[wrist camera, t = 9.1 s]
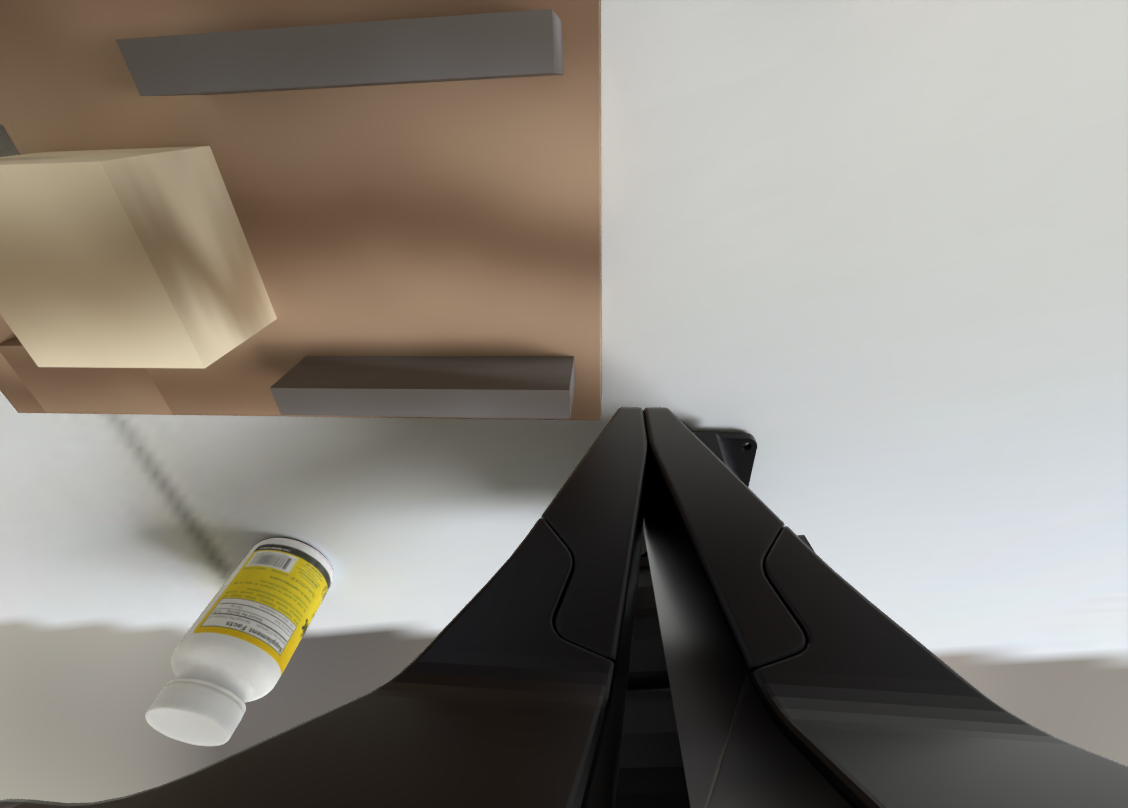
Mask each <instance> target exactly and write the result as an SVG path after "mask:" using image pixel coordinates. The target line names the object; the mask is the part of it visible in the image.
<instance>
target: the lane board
mask: <svg viewBox="0 0 1128 808" xmlns="http://www.w3.org/2000/svg"><path fill="white" fill-rule="evenodd" d="M0 125H3V127H4V129H5V130H6V132H7V134H8V135H9V137H10V139H11V140H12V142H13V144H14V145H15V147H16V149H17V151H18V152H19V154H20V155H22V154H30V153H39V152H57V151H83V150H109V149H136V148H162V147H188V146H210V148H211V150H212V153H213V155H214V158H215V161H216V163H217V166H218V168H219V171H220V173H221V176H222V179H223V181H224V184H225V186H226V189H227V191H228V194H229V197H230V199H231V202H232V204H233V207H234V209H235V212H236V215H237V217H238V220H239V222H240V225H241V227H242V230H243V233H244V235H245V238H246V240H247V243H248V245H249V248H250V251H251V253H252V256H253V258H254V261H255V263H256V266H257V269H258V271H259V274H260V276H261V279H262V281H263V284H264V287H265V289H266V292H267V294H268V297H269V299H270V302H271V305H272V307H273V310H274V312H275V315H276V317H277V319H276V320H275V321H273V322H272V323H270V324H269V325H267V326H266V327H265V328H263V329H262V330H260V331H259V332H257V333H256V334H254V335H253V336H251V337H250V338H249V339H247V340H246V341H244V342H243V343H241V344H240V345H238V346H237V347H235V348H234V349H233V350H231V351H230V352H228V353H227V354H225V355H224V356H222V357H221V358H219V359H218V360H217V361H215V362H214V363H212V364H211V365H209V366H208V367H206V368H88V367H38V366H37V364H36V363H35V362H34V360H33V359H32V357H31V356H30V355H29V353H28V352H27V351H26V349H25V348H24V346H23V345H22V344H21V342H20V341H19V339H18V338H17V337H16V335H15V334H14V332H13V331H12V330H11V328H10V327H9V326H8V324H7V323H6V321H5V320H4V319H3V317H2V316H1V314H0V390H1V392H2V393H3V394H4V395H5V397H6V398H7V399H8V400H9V402H10V403H11V404H12V405H13V407H14V408H15V409H16V410H17V412H18V413H78V414H156V415H233V416H310V417H387V418H464V419H541V420H600V419H601V395H602V302H601V0H0Z"/></svg>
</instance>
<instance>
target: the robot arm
mask: <svg viewBox="0 0 1128 808" xmlns="http://www.w3.org/2000/svg"><path fill="white" fill-rule="evenodd" d="M743 443H749V444H748V445H746V446H741V445H742V444H743ZM756 449H757V443H756V440H755V438H754V437H753V436H752V435H751V434H747V433H715V432H691V431H690V430H689V429H688V428H687V427H686V426H685V425H684V424H683V423H682V422H681V421H680V420H679V419H678V418H677V417H676V416H675V415H674V414H673V413H672V412H671V411H670V410H669V409H667V408H645V409H644V411H643V410H642V408H639V407H621V408H619V409H618V410H617V412H616V413H615V414H614V416H613V417H612V419H611V420H610V421H609V423H608V424H607V426H606V427H605V428H604V430H603V431H602V433H601V434H600V435H599V437H598V438H597V439H596V441H595V442H594V444H593V445H592V446H591V448H590V449H589V451H588V452H587V453H586V455H585V456H584V458H583V459H582V460H581V462H580V463H579V464H578V466H577V467H576V469H575V470H574V471H573V473H572V474H571V476H570V477H569V478H568V480H567V481H566V483H565V484H564V485H563V487H562V488H561V489H560V491H559V492H558V494H557V495H556V496H555V498H554V499H553V501H552V502H551V503H550V505H549V506H548V508H547V509H546V510H545V512H544V513H543V514H542V516H541V518H540V519H539V520H538V521H537V522H536V524H535V525H534V527H533V528H532V529H531V531H530V532H529V534H528V535H527V536H526V538H525V539H524V540H523V541H522V543H521V544H520V545H519V547H518V548H517V549H516V550H515V552H514V553H513V554H512V556H511V557H510V558H509V559H508V560H507V561H506V563H505V564H504V565H503V566H502V567H501V568H500V569H499V570H498V572H497V573H496V574H495V575H494V576H493V577H492V578H491V579H490V580H489V582H488V583H487V584H486V585H485V586H484V587H483V588H482V589H481V590H480V591H479V592H478V593H477V594H476V595H475V596H474V598H473V599H472V600H471V601H470V602H469V603H468V604H467V605H466V606H465V607H464V608H463V609H462V610H461V611H460V612H459V613H458V614H457V616H456V617H455V618H454V619H453V620H452V621H451V622H450V623H449V624H448V625H447V626H446V627H445V628H444V629H443V630H442V631H441V632H440V634H439V635H438V636H437V637H436V638H435V639H434V640H433V641H432V642H431V643H430V644H429V645H428V646H427V647H426V649H424V650H423V651H422V652H421V653H420V654H419V656H417V658H416V659H415V660H413V661H412V662H411V663H410V664H409V665H408V666H407V667H406V668H404V669H403V670H402V671H401V672H400V673H398V674H397V675H396V676H394V677H393V678H392V679H390V680H389V681H387V682H386V683H385V684H383V685H381V686H380V687H378V688H377V689H375V690H373V691H371V692H369V693H367V694H365V695H363V696H361V697H359V698H356V699H354V700H352V701H350V702H348V703H345V704H343V705H341V706H339V707H337V708H334V709H332V710H330V711H328V712H325V713H323V714H321V715H319V716H317V717H315V718H312V719H310V720H308V721H306V722H303V723H301V724H299V725H297V726H295V727H293V728H290V729H288V730H286V731H284V732H281V733H279V734H277V735H275V736H273V737H271V738H268V739H266V740H264V741H262V742H259V743H257V744H255V745H253V746H251V747H248V748H246V749H244V750H242V751H240V752H237V753H235V754H233V755H231V756H229V757H226V758H224V759H222V760H220V761H217V762H215V763H213V764H211V765H209V766H206V767H204V768H202V769H200V770H198V771H195V772H194V773H191V774H188V775H186V776H183V777H181V778H178V779H176V780H174V781H171V782H169V783H166V784H164V785H161V786H159V787H155V788H152V789H148V790H145V791H142V792H138V793H135V794H132V795H129V796H125V797H120V798H114V799H109V800H104V801H99V802H93V803H59V802H49V801H39V800H25V799H6V800H0V808H1128V766H1125V765H1123V764H1120V763H1118V762H1115V761H1113V760H1110V759H1107V758H1105V757H1102V756H1100V755H1097V754H1095V753H1092V752H1090V751H1087V750H1085V749H1082V748H1080V747H1077V746H1075V745H1072V744H1070V743H1068V742H1065V741H1063V740H1061V739H1058V738H1055V737H1054V736H1052V735H1050V734H1048V733H1046V732H1044V731H1042V730H1040V729H1038V728H1036V727H1034V726H1032V725H1030V724H1028V723H1026V722H1025V721H1023V720H1022V719H1020V718H1018V717H1017V716H1015V715H1013V714H1012V713H1010V712H1008V711H1007V710H1005V709H1004V708H1003V707H1001V706H1000V705H998V704H997V703H995V702H994V701H992V700H991V699H989V698H988V697H987V696H985V695H984V694H983V693H982V692H980V691H979V690H978V689H976V688H975V687H974V686H972V685H971V684H970V683H969V682H967V681H966V680H965V679H964V678H962V677H961V676H960V675H959V674H958V673H956V672H955V671H954V670H953V669H951V668H950V667H949V666H948V665H947V664H945V663H944V662H943V661H942V660H940V659H939V658H938V657H937V656H936V655H934V654H933V653H932V652H931V651H930V650H928V649H927V648H926V647H925V646H924V645H922V644H921V643H920V642H919V641H917V640H916V639H915V638H914V637H913V636H911V635H910V634H909V633H908V632H906V631H905V630H904V629H903V628H902V627H900V626H899V625H898V624H897V623H896V622H894V621H893V620H892V619H891V618H889V617H888V616H887V615H886V614H885V613H883V612H882V611H881V610H880V609H878V608H877V607H876V606H875V605H874V604H872V603H871V602H870V601H869V600H868V599H866V598H865V597H864V596H863V595H862V594H861V593H859V592H858V591H857V590H856V589H855V588H854V587H852V586H851V585H850V584H849V583H848V582H847V581H845V580H844V579H843V578H842V577H841V576H840V575H838V574H837V573H836V572H835V571H834V570H833V569H832V568H831V567H829V566H828V565H827V564H826V563H825V562H824V561H823V560H822V559H821V558H820V557H819V556H818V555H817V554H816V553H815V552H814V550H813V549H812V547H811V545H810V544H809V542H808V540H807V539H806V537H805V535H798V536H797V535H796V534H795V533H794V532H793V531H792V530H791V529H790V528H789V527H787V526H785V527H784V523H783V522H782V521H781V520H780V519H779V518H778V517H777V516H776V515H775V514H774V513H773V512H772V511H771V510H770V509H769V508H768V507H767V506H766V505H765V504H764V503H763V502H762V501H761V500H760V499H759V498H758V497H757V496H756V495H755V494H754V493H753V492H752V491H751V490H750V489H749V488H748V486H749V481H750V477H751V472H752V468H753V463H754V458H755V454H756Z"/></svg>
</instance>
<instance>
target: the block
mask: <svg viewBox="0 0 1128 808" xmlns="http://www.w3.org/2000/svg"><path fill="white" fill-rule="evenodd" d="M0 314H1V316H2V317H3V319H4V320H5V321H6V323H7V324H8V326H9V327H10V328H11V330H12V331H13V332H14V334H15V335H16V337H17V338H18V339H19V341H20V342H21V344H22V345H23V346H24V348H25V349H26V351H27V352H28V353H29V355H30V356H31V357H32V359H33V360H34V362H35V363H36V364H37V366H38V367H88V368H206V367H208V366H209V365H211V364H212V363H214V362H215V361H217V360H218V359H219V358H221V357H222V356H224V355H225V354H227V353H228V352H230V351H231V350H233V349H234V348H235V347H237V346H238V345H240V344H241V343H243V342H244V341H246V340H247V339H249V338H250V337H251V336H253V335H254V334H256V333H257V332H259V331H260V330H262V329H263V328H265V327H266V326H267V325H269V324H270V323H272V322H273V321H275V320H276V319H277V317H276V315H275V312H274V310H273V307H272V305H271V302H270V299H269V297H268V294H267V292H266V289H265V287H264V284H263V281H262V279H261V276H260V274H259V271H258V269H257V266H256V263H255V261H254V258H253V256H252V253H251V251H250V248H249V245H248V243H247V240H246V238H245V235H244V233H243V230H242V227H241V225H240V222H239V220H238V217H237V215H236V212H235V209H234V207H233V204H232V202H231V199H230V197H229V194H228V191H227V189H226V186H225V184H224V181H223V179H222V176H221V173H220V171H219V168H218V166H217V163H216V161H215V158H214V155H213V153H212V150H211V148H210V146H188V147H162V148H136V149H109V150H83V151H57V152H39V153H30V154H22V155H13V156H4V157H0Z"/></svg>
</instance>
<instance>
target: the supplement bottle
mask: <svg viewBox="0 0 1128 808" xmlns="http://www.w3.org/2000/svg"><path fill="white" fill-rule="evenodd" d="M332 581H333V569H332V567H331V565H330V563H329V562H328V560H327V559H326V558H325V557H324V556H323V555H322V554H321V553H320V552H318V551H317V550H315V549H314V548H312V547H310V546H309V545H307V544H304V543H302V542H299V541H296V540H292V539H287V538H270V539H266V540H263V541H261V542H259V543H257V544H256V545H255V546H254V547H253V548H252V549H251V550H250V551H249V553H248V554H247V555H246V556H245V558H244V559H243V560H242V561H241V563H240V564H239V565H238V567H237V568H236V569H235V570H234V572H233V573H232V574H231V576H230V577H229V578H228V580H227V581H226V582H225V584H224V585H223V586H222V587H221V589H220V590H219V591H218V593H217V594H216V595H215V597H214V598H213V599H212V600H211V602H210V603H209V604H208V606H207V607H206V608H205V610H204V611H203V612H202V614H201V615H200V616H199V618H198V619H197V620H196V622H195V623H194V624H193V625H192V627H191V628H190V629H189V631H188V632H187V633H186V635H185V636H184V637H183V639H182V640H181V641H180V643H179V644H178V646H177V647H176V649H175V650H174V652H173V654H172V658H171V666H172V670H173V672H174V674H175V676H176V677H177V678H176V679H175V680H172V681H170V682H168V683H167V684H166V685H165V688H163V689H162V690H161V692H160V694H159V695H158V696H157V697H156V699H155V700H154V702H153V703H152V705H151V706H150V708H149V709H148V710H147V712H146V714H145V718H146V721H147V722H148V724H149V725H150V726H152V727H153V728H154V729H156V730H157V731H159V732H160V733H162V734H164V735H166V736H168V737H170V738H173V739H176V740H179V741H182V742H185V743H189V744H194V745H200V746H218V745H222V744H224V743H226V742H227V741H228V740H229V739H230V737H231V735H232V734H233V732H234V731H235V729H236V727H237V725H238V724H239V722H240V721H241V719H242V717H243V714H244V713H245V710H246V706H245V702H249V701H254V700H256V699H259V698H261V697H263V696H265V695H266V694H267V693H269V692H270V691H271V690H272V689H273V687H274V686H275V685H276V683H277V681H278V680H279V678H280V676H281V675H282V673H283V671H284V669H285V668H286V666H287V664H288V662H289V660H290V658H291V657H292V655H293V653H294V651H295V649H296V647H297V645H298V644H299V642H300V640H301V638H302V637H303V635H304V633H305V631H306V629H307V627H308V626H309V624H310V622H311V620H312V618H313V617H314V615H315V613H316V611H317V609H318V608H319V606H320V604H321V602H322V601H323V599H324V597H325V595H326V593H327V591H328V589H329V588H330V586H331V584H332Z"/></svg>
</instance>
